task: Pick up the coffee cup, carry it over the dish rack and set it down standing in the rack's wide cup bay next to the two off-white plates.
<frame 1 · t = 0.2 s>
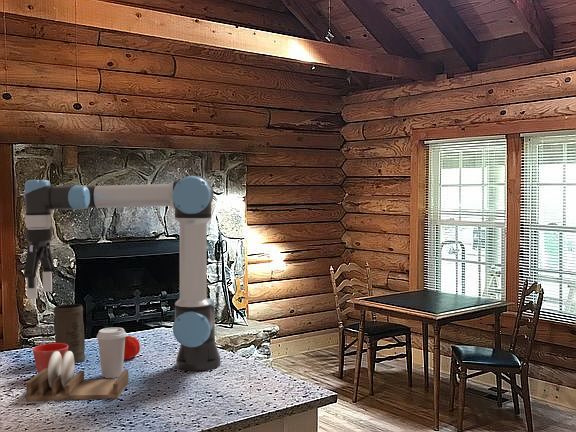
hand: (40, 295, 200), 27 cm above the kitchen counter, fingers open, 13 cm apart
tomato: (126, 358, 227), on the kitchen counter
dish rack: (79, 391, 189), on the kitchen counter
coffee cup: (112, 376, 205), on the kitchen counter
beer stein: (65, 359, 226), on the kitchen counter
flower pot: (51, 376, 205), on the kitchen counter
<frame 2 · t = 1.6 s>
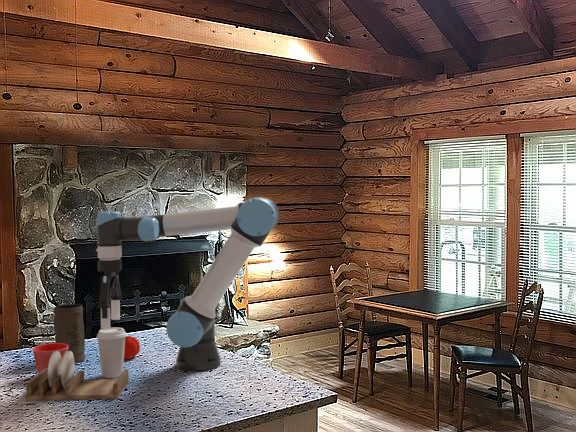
hand: (110, 323, 204), 17 cm above the kitchen counter, fingers open, 13 cm apart
nothing on the kitchen counter moved.
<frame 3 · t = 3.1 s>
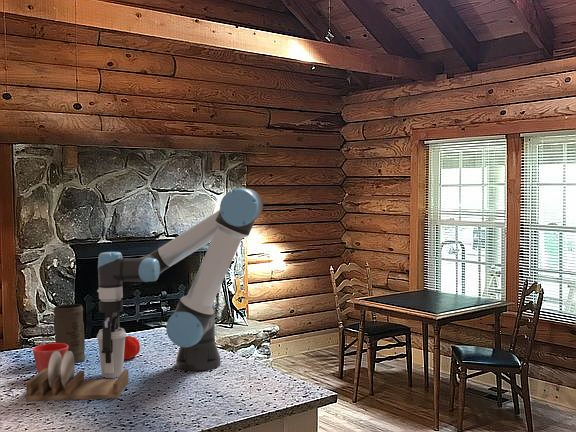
hand: (112, 368, 205), 2 cm above the kitchen counter, fingers open, 7 cm apart
coffee cup: (112, 376, 205), on the kitchen counter, touching gripper
everything else where it was.
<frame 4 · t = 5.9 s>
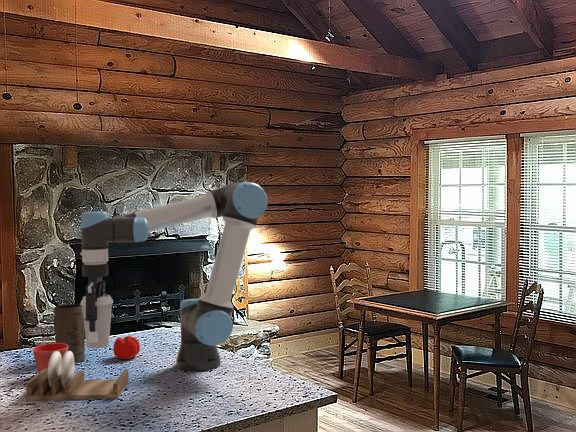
hand: (96, 339, 189), 16 cm above the kitchen counter, fingers closed on coffee cup, 7 cm apart
coffee cup: (97, 346, 189), point 13 cm above the kitchen counter, touching gripper, hand
everything else where it was.
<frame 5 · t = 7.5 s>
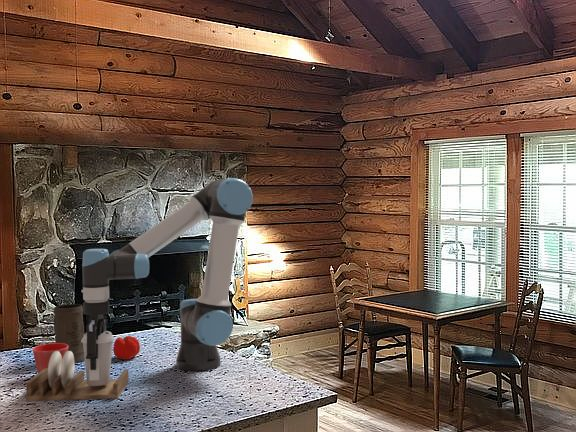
hand: (97, 376, 189), 4 cm above the kitchen counter, fingers closed on coffee cup, 7 cm apart
coffee cup: (98, 383, 189), point 2 cm above the kitchen counter, touching gripper, hand
everything else where it was.
when the fingers open (3 cm above the kitchen counter, at t = 8.0 s): coffee cup stays where it is, resting on dish rack.
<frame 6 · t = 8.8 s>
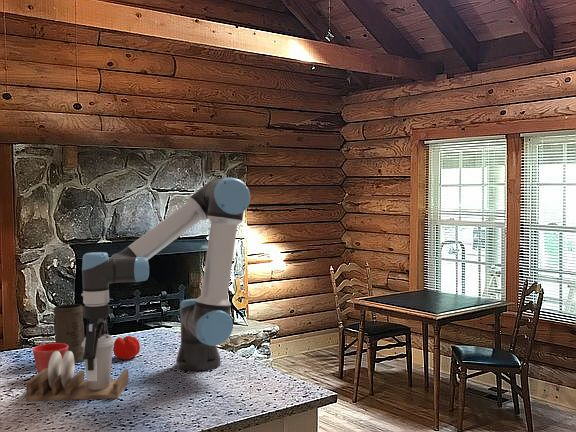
hand: (97, 374, 189), 5 cm above the kitchen counter, fingers open, 13 cm apart
coffee cup: (99, 387, 190), point 1 cm above the kitchen counter, touching dish rack
everything else where it was.
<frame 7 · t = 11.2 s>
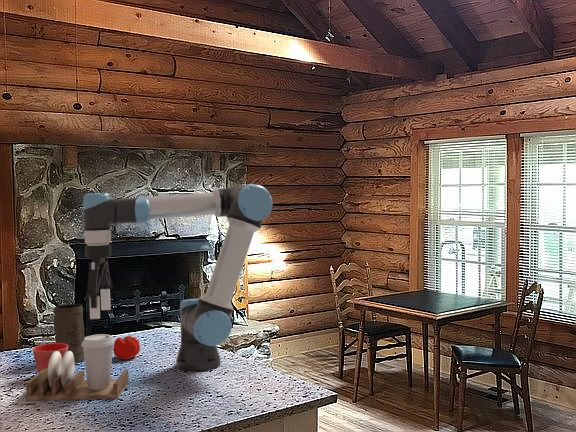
hand: (100, 314, 190), 23 cm above the kitchen counter, fingers open, 13 cm apart
nothing on the kitchen counter moved.
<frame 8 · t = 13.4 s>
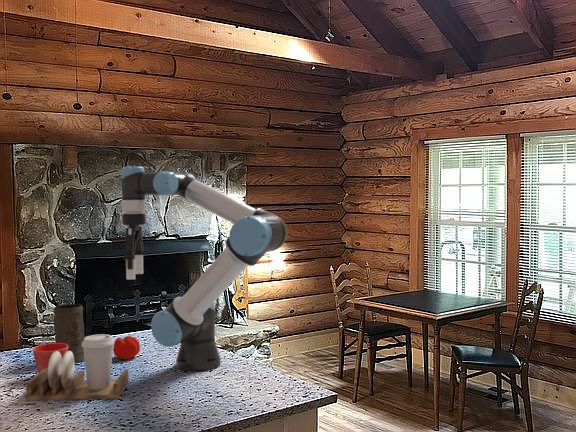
hand: (135, 276, 209), 32 cm above the kitchen counter, fingers open, 13 cm apart
nothing on the kitchen counter moved.
at the end: coffee cup inside the target area on the dish rack (0.5 cm from its centre), point 1.0 cm above the dish rack's base; coffee cup tilted 0°; the gripper is holding nothing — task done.
